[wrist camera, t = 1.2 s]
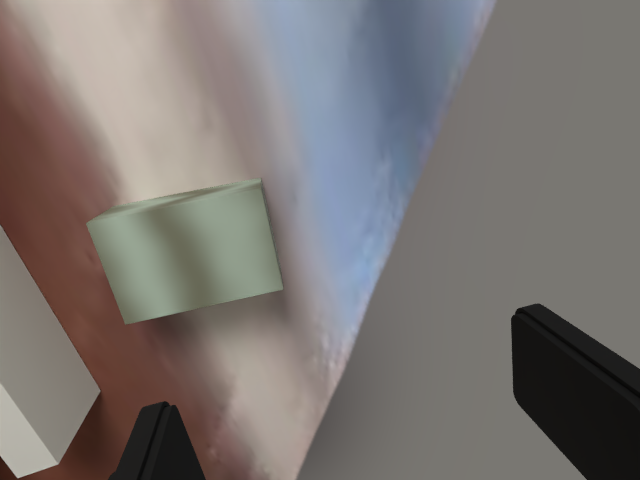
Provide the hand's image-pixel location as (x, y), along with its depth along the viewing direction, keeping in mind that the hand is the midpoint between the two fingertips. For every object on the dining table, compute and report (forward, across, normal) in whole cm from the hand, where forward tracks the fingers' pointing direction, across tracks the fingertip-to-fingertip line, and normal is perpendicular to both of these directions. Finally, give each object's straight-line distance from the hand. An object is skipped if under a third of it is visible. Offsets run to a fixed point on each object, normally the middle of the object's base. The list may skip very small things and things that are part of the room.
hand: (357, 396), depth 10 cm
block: (+24, +8, +1) cm, 26 cm away
